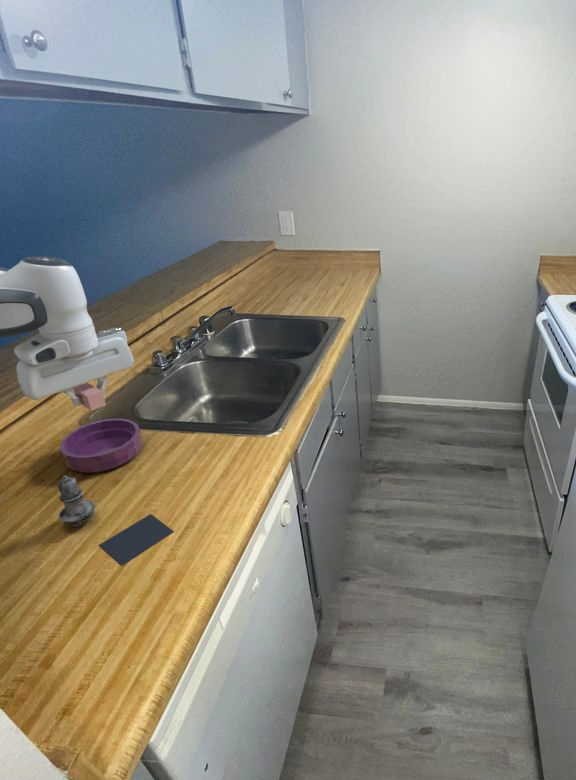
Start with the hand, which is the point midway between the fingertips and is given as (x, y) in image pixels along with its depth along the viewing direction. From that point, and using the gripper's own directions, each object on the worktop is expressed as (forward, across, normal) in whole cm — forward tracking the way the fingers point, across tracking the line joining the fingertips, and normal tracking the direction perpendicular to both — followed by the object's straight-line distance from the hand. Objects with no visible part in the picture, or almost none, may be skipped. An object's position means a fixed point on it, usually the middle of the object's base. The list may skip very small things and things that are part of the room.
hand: (89, 400), depth 100 cm
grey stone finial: (+17, +13, +14) cm, 26 cm away
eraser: (+1, 0, 0) cm, 1 cm away
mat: (+17, +9, +27) cm, 33 cm away
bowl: (+17, -1, -4) cm, 17 cm away
